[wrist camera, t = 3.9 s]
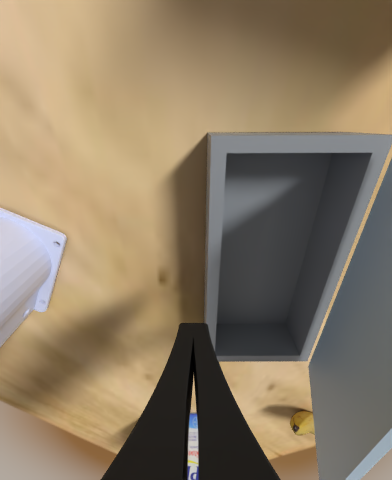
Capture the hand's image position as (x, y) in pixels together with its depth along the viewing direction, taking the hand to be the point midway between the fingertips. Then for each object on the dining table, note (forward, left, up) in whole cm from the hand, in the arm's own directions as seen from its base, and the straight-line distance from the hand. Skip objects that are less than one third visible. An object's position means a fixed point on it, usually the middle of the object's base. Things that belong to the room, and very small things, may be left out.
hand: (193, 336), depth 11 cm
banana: (-16, -26, -9) cm, 32 cm away
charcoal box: (+2, -5, -8) cm, 10 cm away
